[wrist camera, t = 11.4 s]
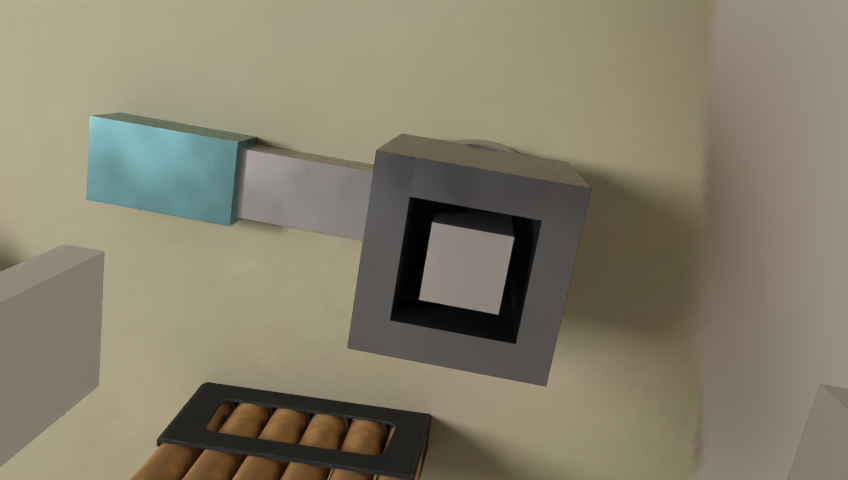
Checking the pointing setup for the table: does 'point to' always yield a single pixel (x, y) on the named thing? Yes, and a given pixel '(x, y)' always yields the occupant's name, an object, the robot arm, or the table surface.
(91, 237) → the table surface
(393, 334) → the socket
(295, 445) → the ammunition clip
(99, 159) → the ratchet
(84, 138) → the table surface
